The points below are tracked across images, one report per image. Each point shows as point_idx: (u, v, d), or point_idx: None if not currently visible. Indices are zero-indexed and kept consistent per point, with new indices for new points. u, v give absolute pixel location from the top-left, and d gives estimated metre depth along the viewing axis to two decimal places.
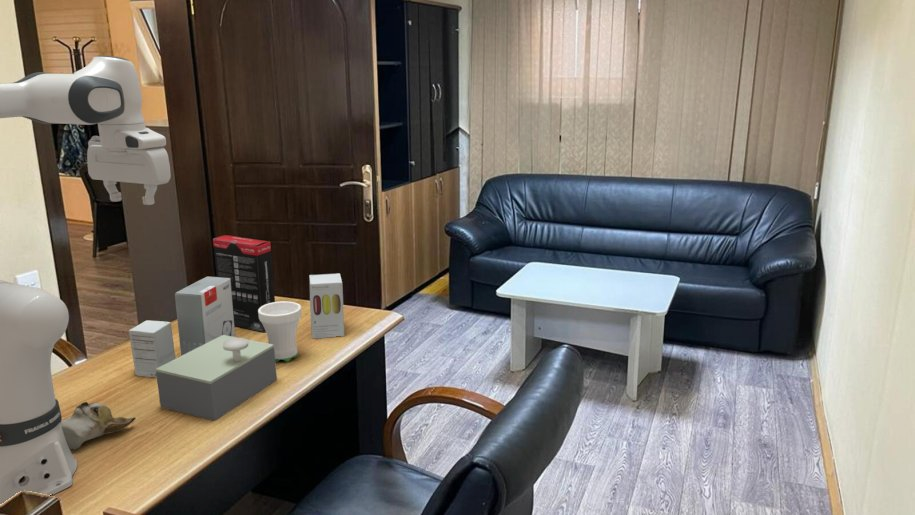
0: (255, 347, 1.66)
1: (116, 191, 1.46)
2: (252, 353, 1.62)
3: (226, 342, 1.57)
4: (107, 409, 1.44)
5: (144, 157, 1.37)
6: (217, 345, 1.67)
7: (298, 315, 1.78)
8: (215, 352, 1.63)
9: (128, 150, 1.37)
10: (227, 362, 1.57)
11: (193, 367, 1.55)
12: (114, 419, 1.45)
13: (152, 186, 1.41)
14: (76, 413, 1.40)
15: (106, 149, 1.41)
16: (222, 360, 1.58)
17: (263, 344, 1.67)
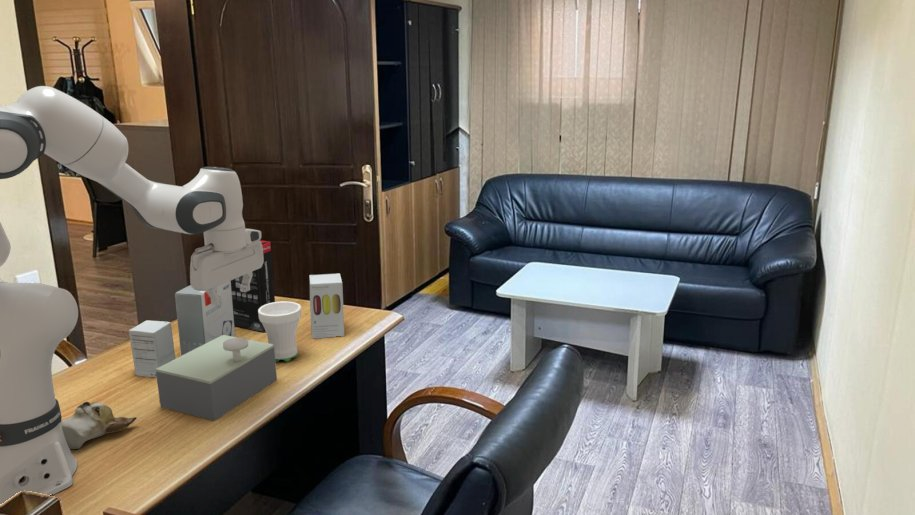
0: (255, 347, 1.66)
1: None
2: (252, 353, 1.62)
3: (226, 342, 1.57)
4: (108, 408, 1.44)
5: (255, 247, 1.57)
6: (217, 345, 1.67)
7: (298, 315, 1.78)
8: (215, 352, 1.63)
9: (248, 245, 1.53)
10: (227, 362, 1.57)
11: (193, 367, 1.55)
12: (115, 419, 1.46)
13: None
14: (78, 413, 1.40)
15: (222, 254, 1.47)
16: (222, 360, 1.58)
17: (263, 344, 1.67)
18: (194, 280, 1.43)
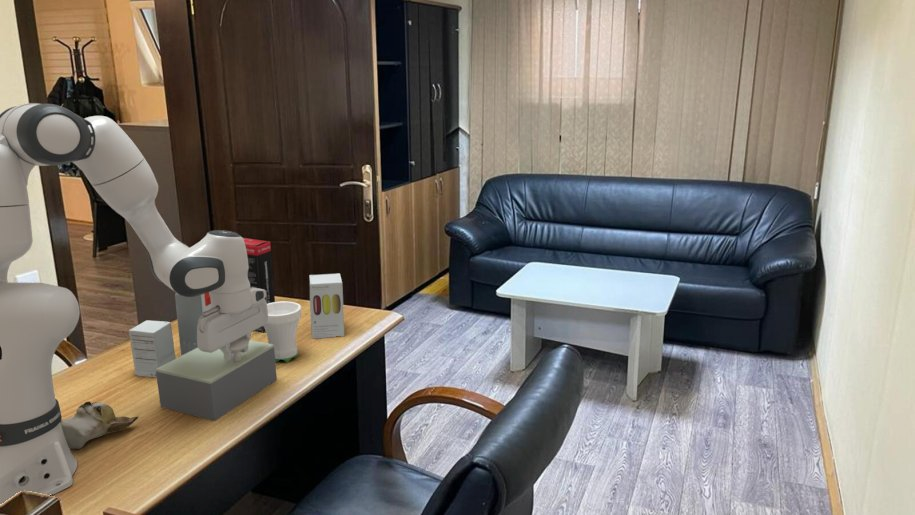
0: (255, 347, 1.66)
1: None
2: (252, 353, 1.62)
3: None
4: (109, 408, 1.44)
5: (260, 305, 1.61)
6: None
7: (298, 315, 1.78)
8: (215, 352, 1.63)
9: (253, 304, 1.57)
10: (227, 362, 1.57)
11: (193, 367, 1.55)
12: (116, 418, 1.46)
13: None
14: (79, 412, 1.40)
15: (228, 315, 1.51)
16: (222, 360, 1.58)
17: (263, 344, 1.67)
18: (201, 342, 1.47)
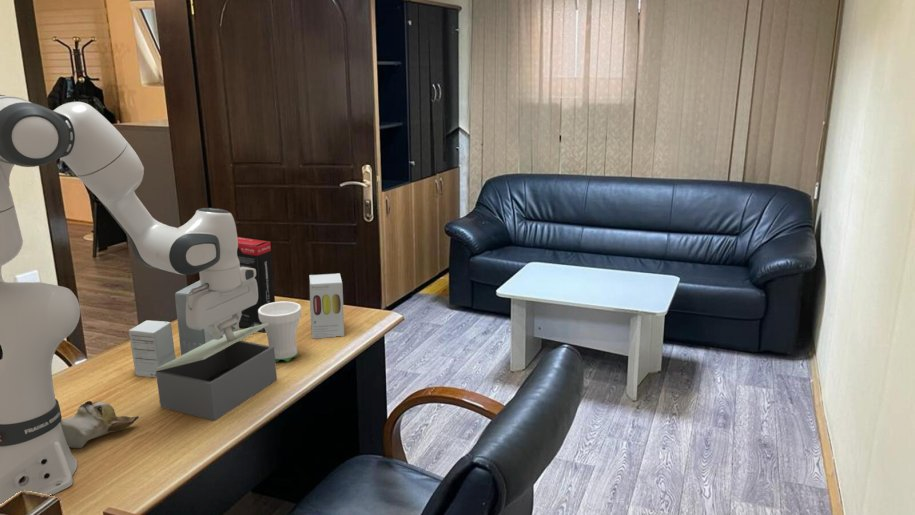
0: (250, 329, 1.65)
1: None
2: (246, 332, 1.61)
3: None
4: (110, 408, 1.44)
5: (250, 284, 1.60)
6: (215, 340, 1.67)
7: (298, 315, 1.78)
8: (212, 344, 1.62)
9: (243, 283, 1.57)
10: (222, 344, 1.56)
11: (189, 356, 1.54)
12: (117, 418, 1.46)
13: None
14: (80, 412, 1.40)
15: (217, 293, 1.51)
16: (217, 344, 1.58)
17: (258, 325, 1.67)
18: (189, 319, 1.47)
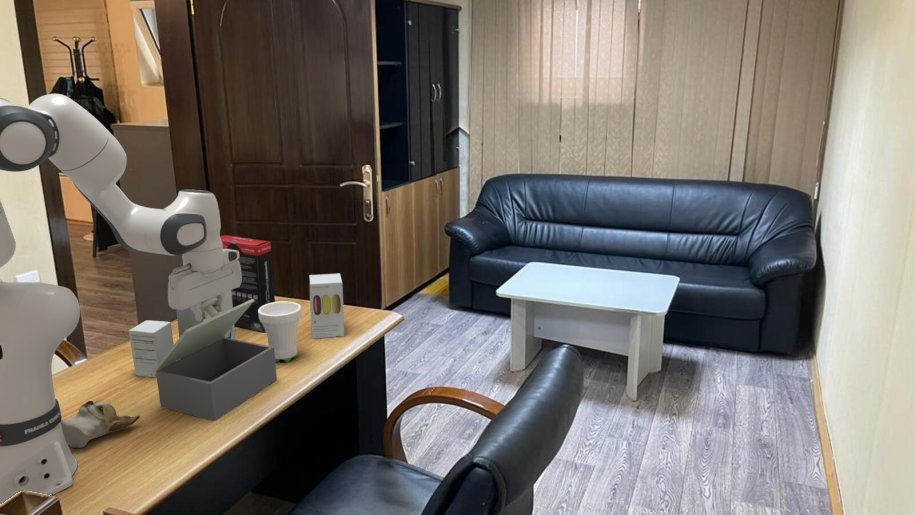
0: None
1: None
2: None
3: None
4: (111, 407, 1.45)
5: (234, 266, 1.61)
6: None
7: (298, 315, 1.78)
8: None
9: (226, 265, 1.57)
10: None
11: None
12: (119, 417, 1.46)
13: None
14: (81, 412, 1.40)
15: (200, 274, 1.51)
16: None
17: None
18: (171, 300, 1.47)
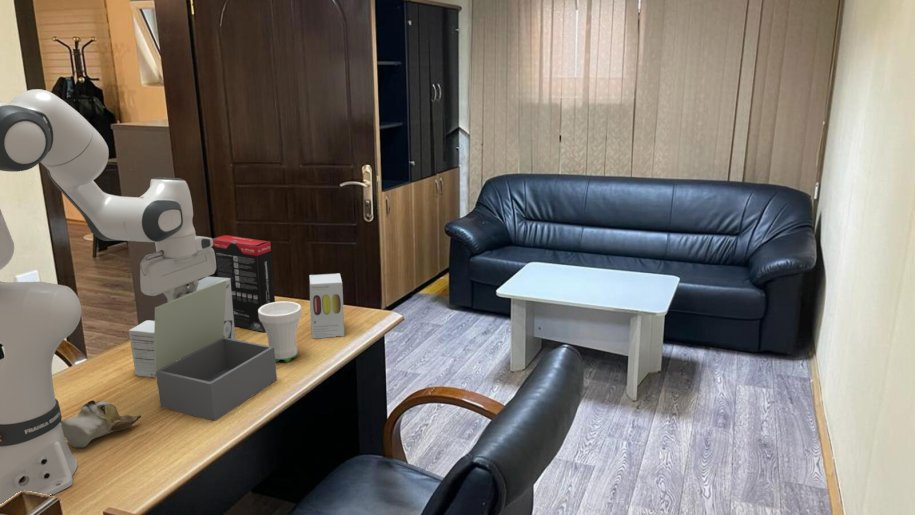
0: None
1: None
2: None
3: None
4: (113, 407, 1.45)
5: (207, 253, 1.63)
6: None
7: (298, 315, 1.78)
8: None
9: (199, 252, 1.60)
10: None
11: None
12: (120, 417, 1.46)
13: None
14: (83, 411, 1.40)
15: (172, 260, 1.54)
16: None
17: None
18: (143, 285, 1.50)
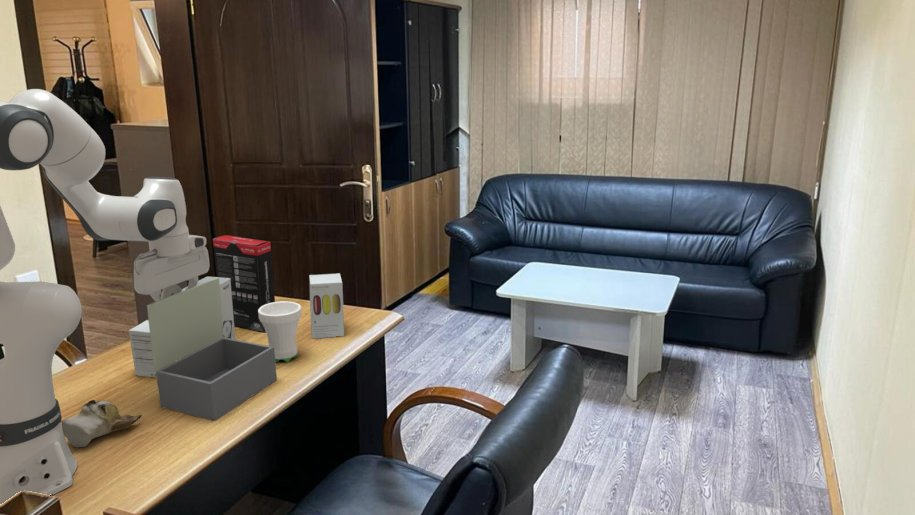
0: None
1: None
2: None
3: None
4: (114, 406, 1.45)
5: (201, 252, 1.64)
6: None
7: (298, 315, 1.78)
8: None
9: (193, 251, 1.61)
10: None
11: None
12: (121, 417, 1.46)
13: None
14: (84, 411, 1.41)
15: (165, 259, 1.55)
16: None
17: None
18: (137, 284, 1.51)
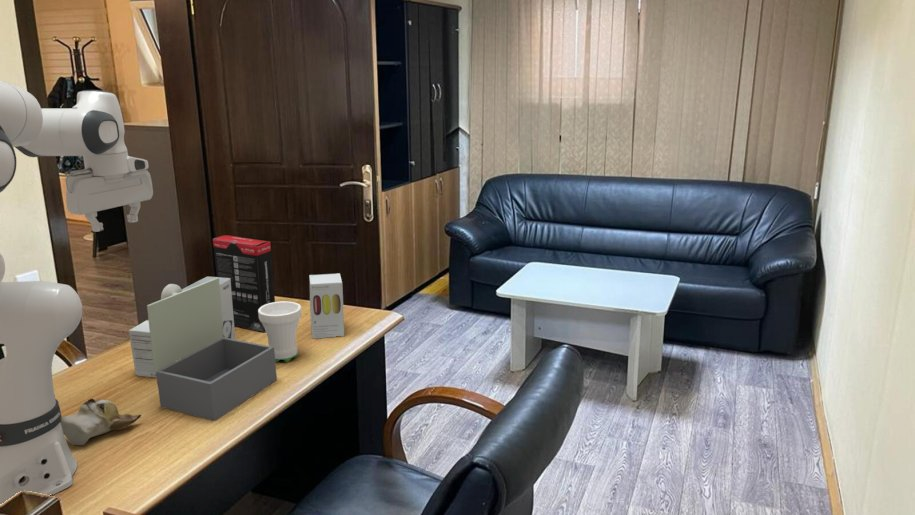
0: None
1: None
2: None
3: None
4: (113, 406, 1.45)
5: (143, 177, 1.56)
6: None
7: (298, 315, 1.78)
8: None
9: (133, 173, 1.52)
10: None
11: None
12: (120, 416, 1.47)
13: None
14: (82, 409, 1.41)
15: (101, 179, 1.46)
16: None
17: None
18: (70, 203, 1.42)
